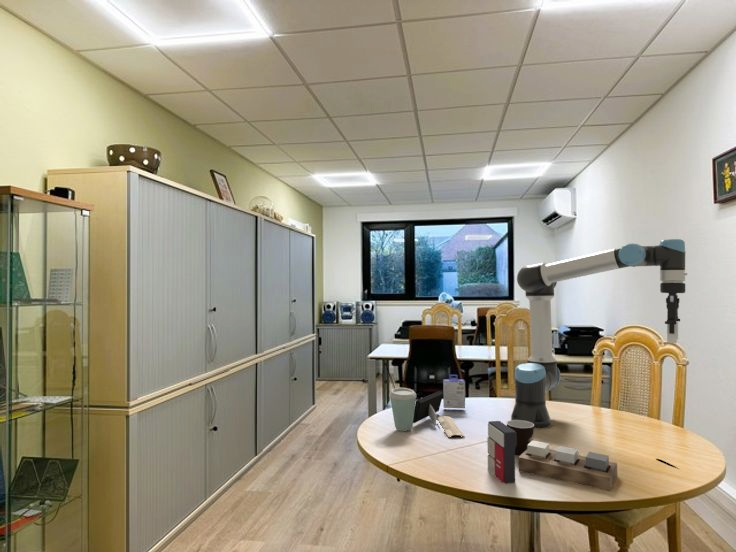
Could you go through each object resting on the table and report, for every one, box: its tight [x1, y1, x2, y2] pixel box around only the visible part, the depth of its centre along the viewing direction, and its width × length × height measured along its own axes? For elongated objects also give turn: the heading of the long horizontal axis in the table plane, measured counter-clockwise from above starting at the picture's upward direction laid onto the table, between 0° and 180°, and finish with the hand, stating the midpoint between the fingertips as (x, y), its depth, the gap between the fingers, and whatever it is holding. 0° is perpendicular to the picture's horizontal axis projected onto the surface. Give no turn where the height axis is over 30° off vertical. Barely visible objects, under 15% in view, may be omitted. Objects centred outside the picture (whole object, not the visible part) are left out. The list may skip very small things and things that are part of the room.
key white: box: [527, 440, 550, 459], centre depth 135 cm, size 5×5×5 cm
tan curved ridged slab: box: [437, 415, 466, 439], centre depth 176 cm, size 24×7×2 cm, turn 2°
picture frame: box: [413, 390, 443, 426], centre depth 189 cm, size 22×10×10 cm
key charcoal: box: [585, 451, 610, 473], centre depth 125 cm, size 5×5×5 cm
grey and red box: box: [486, 420, 517, 484], centre depth 130 cm, size 11×4×15 cm, turn 9°
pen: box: [655, 458, 680, 470], centre depth 135 cm, size 2×14×2 cm, turn 9°
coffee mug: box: [506, 419, 535, 457], centre depth 149 cm, size 12×9×10 cm
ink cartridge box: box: [442, 374, 466, 409], centre depth 205 cm, size 10×6×14 cm, turn 83°
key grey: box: [555, 445, 579, 466], centre depth 130 cm, size 5×5×5 cm
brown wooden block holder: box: [518, 448, 618, 492], centre depth 130 cm, size 24×12×5 cm, turn 53°
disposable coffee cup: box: [388, 387, 417, 432], centre depth 175 cm, size 11×11×15 cm
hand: (672, 341), depth 162 cm, fingers open, 13 cm apart
